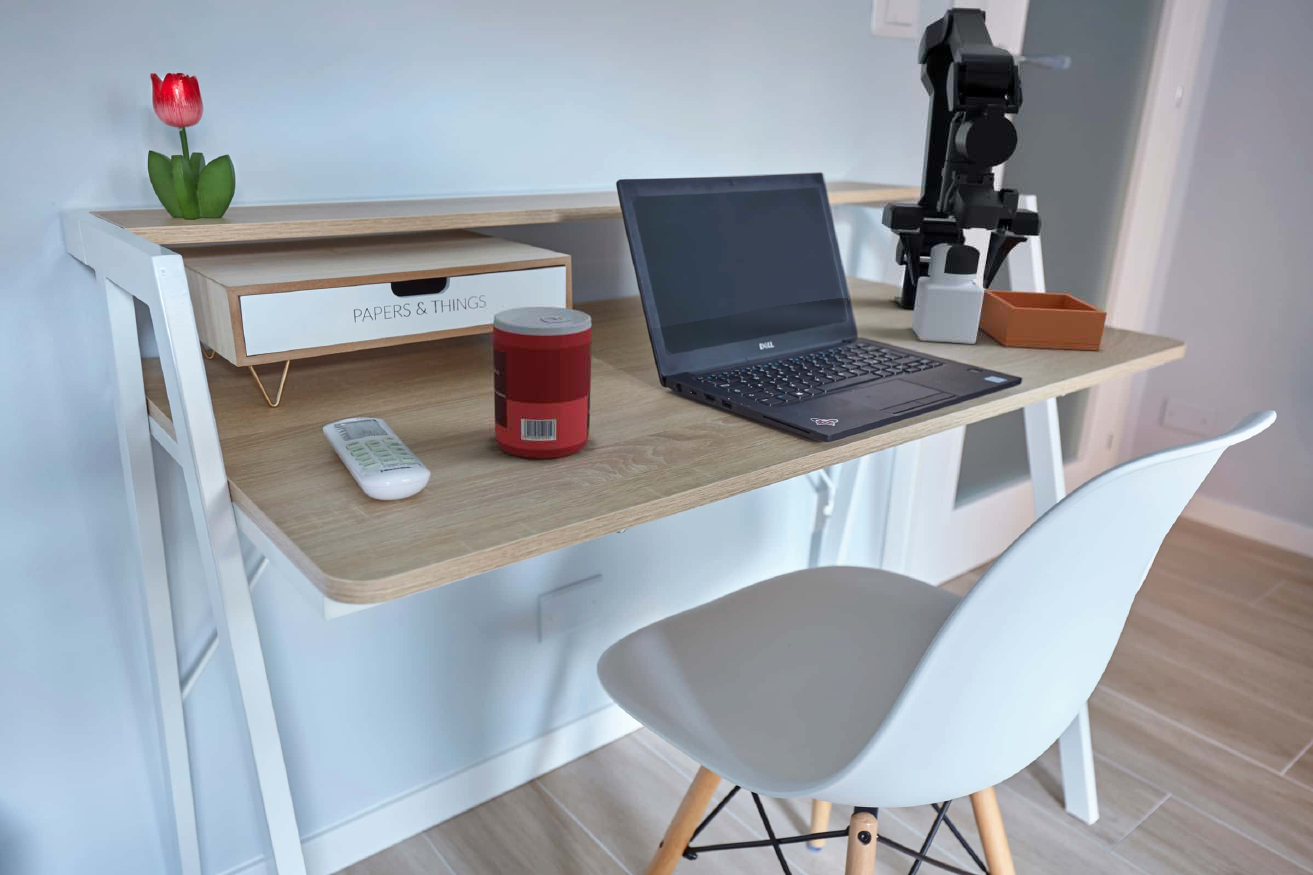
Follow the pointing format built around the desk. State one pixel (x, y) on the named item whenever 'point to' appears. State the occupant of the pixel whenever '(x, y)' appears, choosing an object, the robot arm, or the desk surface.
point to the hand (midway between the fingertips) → (950, 286)
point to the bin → (1041, 320)
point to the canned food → (542, 381)
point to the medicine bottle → (949, 296)
